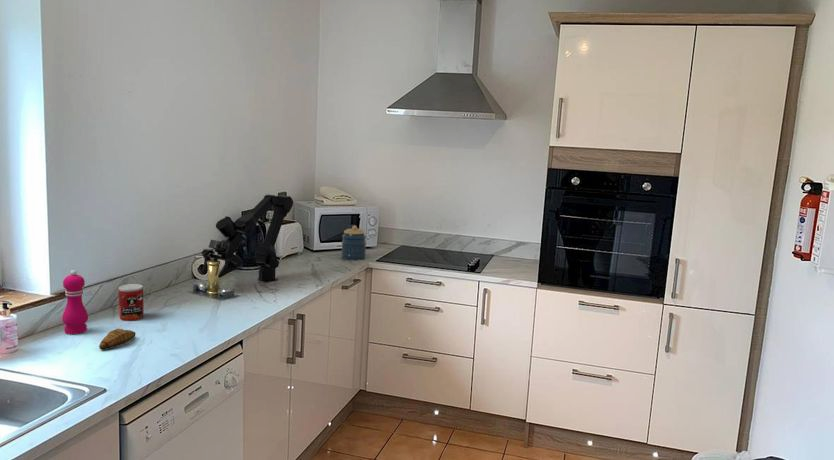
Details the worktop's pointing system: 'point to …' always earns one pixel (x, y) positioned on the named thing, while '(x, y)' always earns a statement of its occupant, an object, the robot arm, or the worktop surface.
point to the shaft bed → (222, 295)
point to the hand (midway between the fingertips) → (210, 275)
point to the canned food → (131, 302)
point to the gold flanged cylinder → (213, 277)
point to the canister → (354, 243)
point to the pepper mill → (74, 305)
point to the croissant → (116, 338)
